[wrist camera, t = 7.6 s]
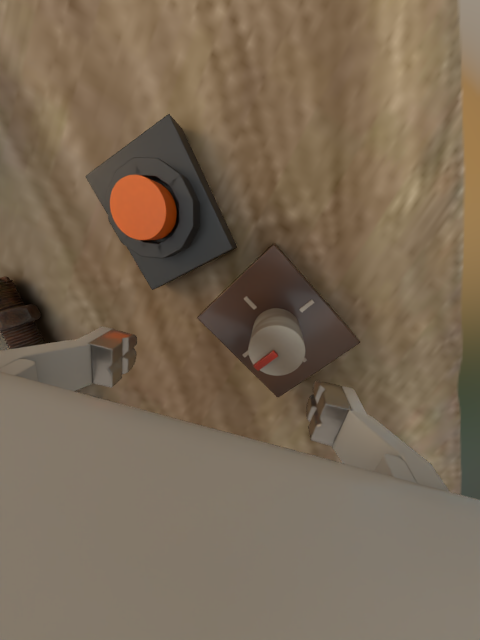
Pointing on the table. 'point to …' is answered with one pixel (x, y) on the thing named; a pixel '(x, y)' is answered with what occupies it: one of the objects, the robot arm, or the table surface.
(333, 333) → the dial base
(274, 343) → the knob
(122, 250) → the table surface
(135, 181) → the button
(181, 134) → the button box
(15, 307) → the bolt
